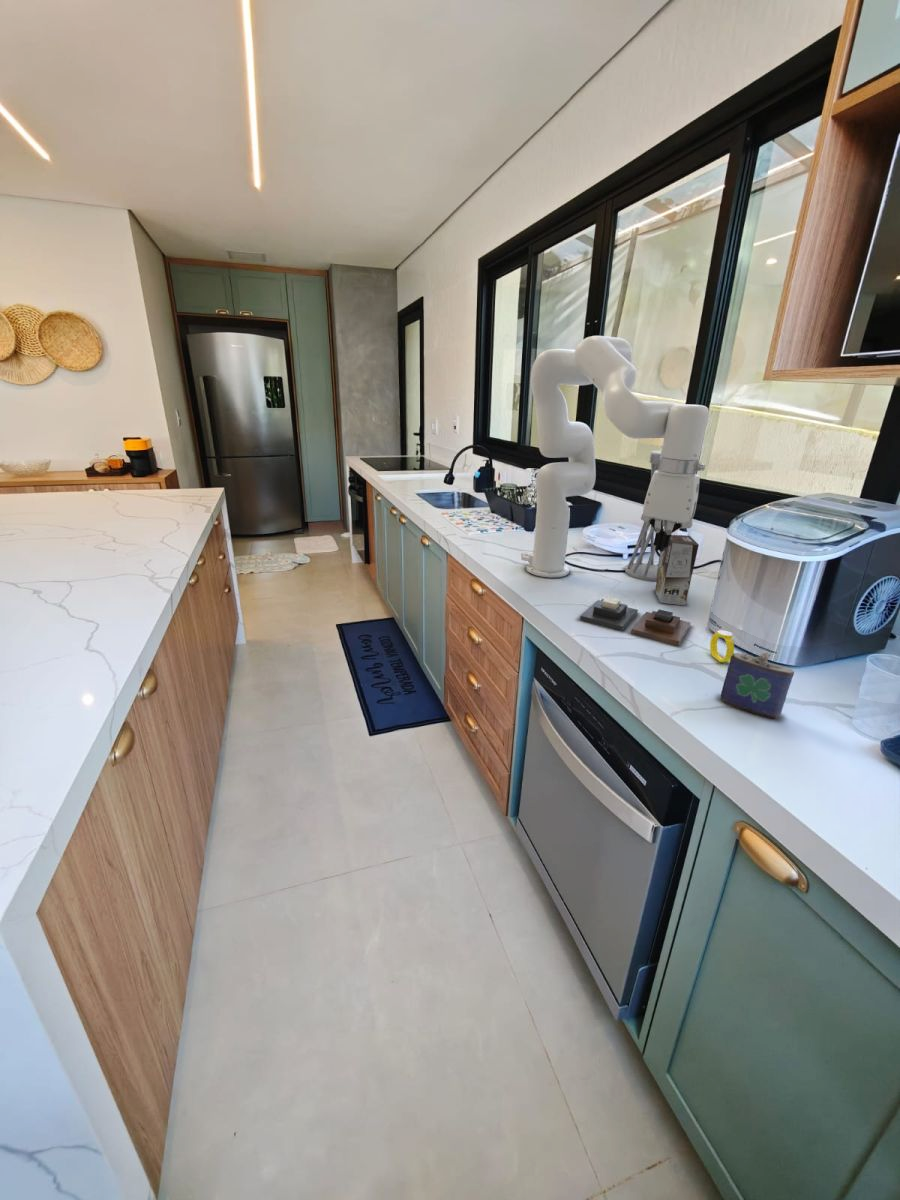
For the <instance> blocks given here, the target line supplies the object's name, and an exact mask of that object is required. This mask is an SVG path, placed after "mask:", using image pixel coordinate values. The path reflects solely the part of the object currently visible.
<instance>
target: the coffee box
mask: <svg viewBox="0 0 900 1200" xmlns="http://www.w3.org/2000/svg"><path fill="white" fill-rule="evenodd" d="M699 546H700V544H699V543H698V542H697V541H696V540H695V539H694V538H693V537H692V536H691V535H685V534H671V538H670V543H669V546H668V548H665V550H664V551H663V552H662V555H661V560H660V566H659V571H658V577H657V581H655V582H656V583H655V587H654V592H655V594H656V596H657V599H658V600H659V602H660V603H661V604H667V605H677V606H679V605H680V606H685V605H686V604H687V599H688V595H689V590H690V586H691V581H692V577H693V572H694V568H695V563H696V559H697V554H698V551H699Z"/></svg>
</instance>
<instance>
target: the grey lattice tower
mask: <svg viewBox="0 0 900 1200" xmlns="http://www.w3.org/2000/svg"><path fill="white" fill-rule="evenodd" d="M661 451H662V450H651V451H650V456H649V464H650V480H651V479H652V476H653V474H654V472H655V471H656V470H658V467H659V462H660V457H661ZM668 524H669V521H667V520H664V522H663V529H664V532H665V531H666V529H667V527H668ZM649 529H650V531H649ZM648 531H649V533H648ZM654 540H655V530H654V528H653V527H652V525H651V524H650V523H647V522H645V521H643V523H642V527H641V530H640V532H639V534H638V538H637V542H636V543H635V547H634V549H633V552H632V555H631V558H630V560H629V562H628V564H626V565H625V566H624V572H625V574H626V575H628V576H630V577H633V578H636V579H639V580H646V581H652V582H657V577H658V571H659V566H660V560H661V555H662V552H661V551H659V558H658V564H655V563H654V562H655V561H654V559H655V558H654V557H655V552H656V550H655V547H656V546H655V545H654ZM649 544H650V555H649V558H648V561H647V562H643V558H644V555H645V552H646V550H647V548H648V546H649ZM639 550H640V551H639ZM638 552H639V555H638V557H637V554H638ZM636 557H637V559H636ZM635 560H636V561H635Z"/></svg>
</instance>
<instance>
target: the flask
mask: <svg viewBox="0 0 900 1200" xmlns="http://www.w3.org/2000/svg"><path fill="white" fill-rule="evenodd" d="M770 657H771V654H770V653H768V652H766V651H765V652H760V654H759V656H755V657H754V656H752V655H750V654H749V655H748V654H747V652H744V653H740V652H734V654H733V655H732V656H731V659H730V661H729V662H728V667H727V670H726V674H725V677H724V681H723V685H722V690H721V692H720V698H719V700H720V701H721V702H722V703H724V704H726V705H728V706H730V707H734V708H736V709H738V710H742V711H745V712H749V713H751V714H753V715H758V716H761V717H765V718H768V719H775V720H778V719H779V718H780V717H781V715H782V712H783V709H784V705H785V703H786V700H787V695H788V693H789V689H790V686H791V684H792V680H793V677H794V674H795V671H794V670H793V669H792V668H791V667H790V666H789V667H788V666H785V665H781V664H776V663H772V662H769V661H768V660H769V658H770Z"/></svg>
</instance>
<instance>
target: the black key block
mask: <svg viewBox="0 0 900 1200" xmlns="http://www.w3.org/2000/svg"><path fill="white" fill-rule="evenodd" d="M605 599H606V598H602V599H601V600H599V599H597V600H596V601H595V602H594V603H593V604H592V605H591V606H589V608H587V609H586V611H584V612H582V614H580V617H579V621H582V622H585V623H590V624H593V625H596V626H601V627H605V628H608V629H613V630H615V631H619V632H623V631H624V630H625V629H626V628H627V626H628V625H629V624H630V623H631V622H632V620H634V618H635V617H636V616H637V615H638V611H639V609H637V608H632V607H628V604H626V603H622V602H620V605H619V607H618V608H617V609H616V610H614V609H610V608H605V607H602V603H603V600H605Z"/></svg>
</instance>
